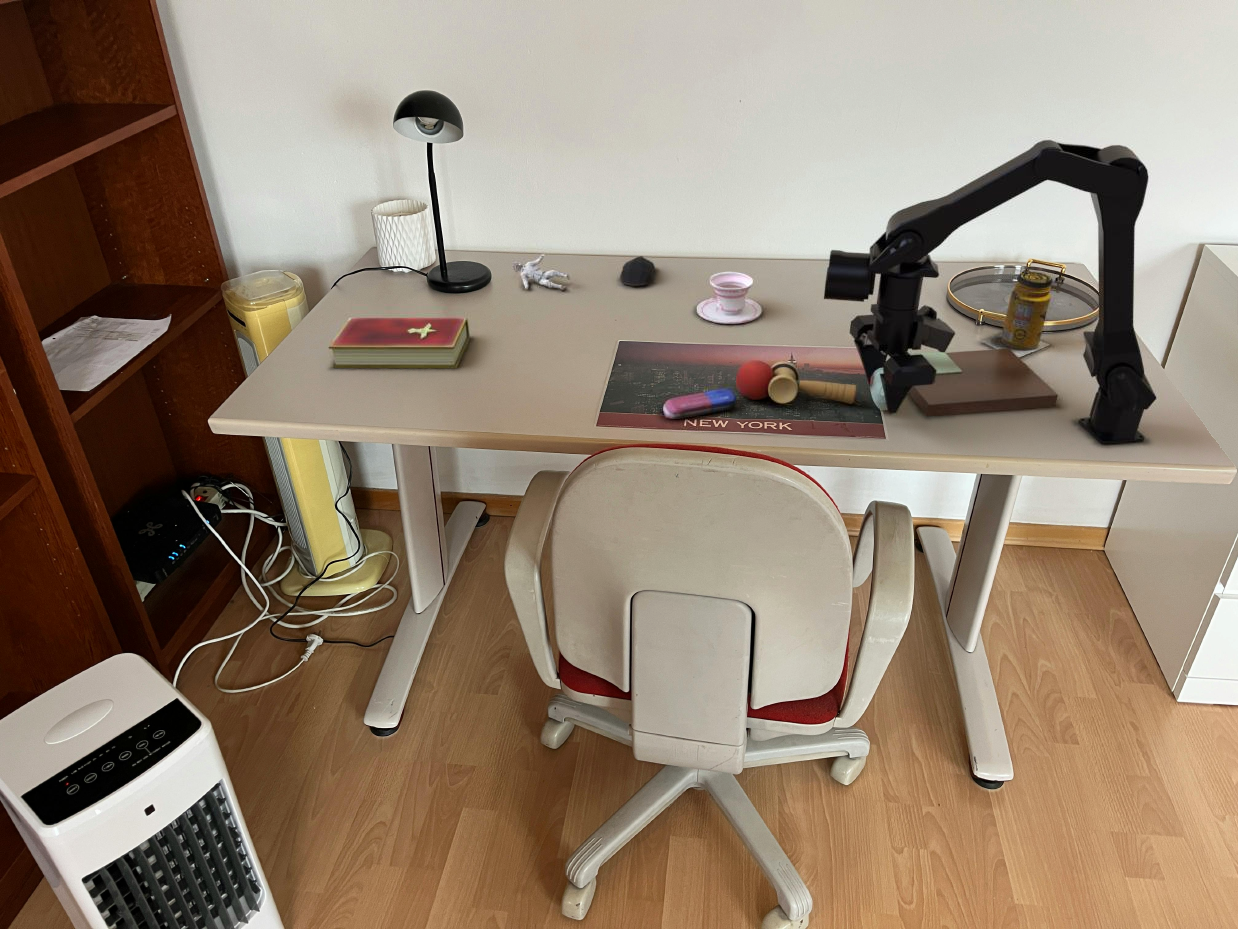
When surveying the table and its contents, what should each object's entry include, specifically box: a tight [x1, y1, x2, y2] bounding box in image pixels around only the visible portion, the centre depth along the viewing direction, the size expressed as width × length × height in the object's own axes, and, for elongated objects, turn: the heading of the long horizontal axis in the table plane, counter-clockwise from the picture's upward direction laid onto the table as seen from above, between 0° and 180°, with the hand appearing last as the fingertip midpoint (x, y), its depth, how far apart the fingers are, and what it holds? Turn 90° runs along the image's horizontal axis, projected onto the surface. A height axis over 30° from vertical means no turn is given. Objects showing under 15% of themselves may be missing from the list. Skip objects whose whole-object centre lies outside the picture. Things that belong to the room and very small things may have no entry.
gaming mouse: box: [619, 255, 656, 287], centre depth 184 cm, size 6×15×4 cm, turn 169°
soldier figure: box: [512, 254, 571, 291], centre depth 181 cm, size 8×5×12 cm
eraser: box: [662, 388, 737, 420], centre depth 138 cm, size 11×4×2 cm, turn 105°
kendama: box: [735, 359, 857, 405], centre depth 139 cm, size 8×6×18 cm
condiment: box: [981, 271, 1053, 358], centre depth 151 cm, size 7×8×12 cm
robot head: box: [869, 368, 888, 411], centre depth 136 cm, size 8×4×7 cm, turn 170°
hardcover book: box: [328, 317, 470, 369], centre depth 156 cm, size 12×21×4 cm, turn 87°
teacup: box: [696, 271, 763, 325], centre depth 167 cm, size 12×12×6 cm
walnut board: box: [907, 348, 1059, 417], centre depth 142 cm, size 16×20×2 cm
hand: (882, 400), depth 136 cm, fingers closed on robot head, 7 cm apart
